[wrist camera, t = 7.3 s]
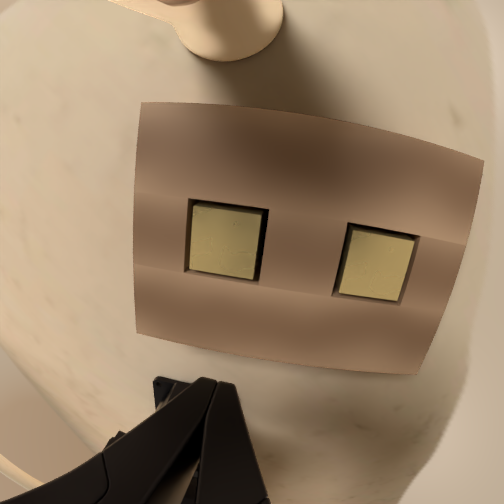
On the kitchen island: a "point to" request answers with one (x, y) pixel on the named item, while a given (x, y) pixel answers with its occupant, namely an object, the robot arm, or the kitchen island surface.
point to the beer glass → (217, 24)
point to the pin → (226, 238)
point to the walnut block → (295, 233)
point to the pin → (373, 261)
